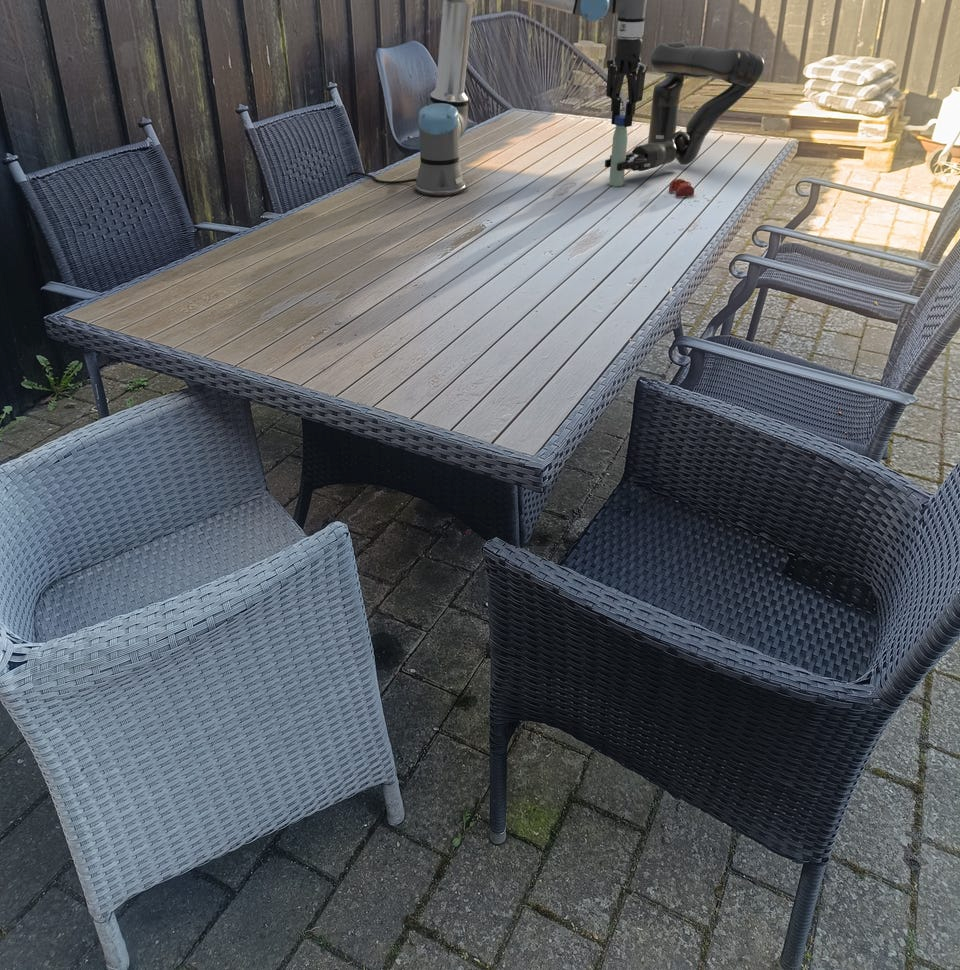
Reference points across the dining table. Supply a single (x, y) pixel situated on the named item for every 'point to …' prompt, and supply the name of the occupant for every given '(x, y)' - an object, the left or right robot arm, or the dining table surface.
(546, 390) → the dining table surface
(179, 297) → the dining table surface
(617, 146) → the bottle
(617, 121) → the cap
